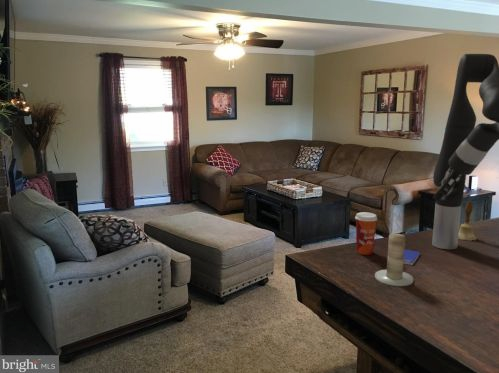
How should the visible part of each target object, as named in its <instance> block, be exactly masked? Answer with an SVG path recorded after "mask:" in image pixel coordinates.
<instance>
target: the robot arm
mask: <svg viewBox="0 0 499 373" xmlns="http://www.w3.org/2000/svg"><path fill="white" fill-rule="evenodd" d="M457 66H458V67H457V70H456V77H455V84H454V90H453V96H452V101H451V104H450V105H451V106H450V108H449V114H448V115H447V116H448V117H447V120H446V124H445V129H444V135H443V139H442V143H441V149H440V151H439V154H438V158H437V160H436V164H435V167H434V170H433V177H432V178H433V184H434V186H436V187H438V190H437V191H436V192H435V194H434V195H433V196H432V199H433V200H434V201H435V207H434V218H433V230H432V238H431V240H432V242H431V245H432V246H433V247H435V248H438V249H442V250H456V249H457V248H458V244H459V243H458V242H459V239H458V235H459V230H460V226H461V225H460V224H461V223H460V222H461V215H462V214H461V212H462V205H463V204H462V203H463V199H464V194H465V186H466V180H467V176H469V175H471V174H472V173H473V172H474V171H475V170H476V169H477V167H479V165H480V163H481V162H482V161H483V160H484V158H486V156H487V155H488V153H489V151H490V150H491V149H492V148H493V147H494V145H495V144H496V143H497V142H498V141H499V61H498V59H497V58H496V56H495V55H494V54H490V53H465V54H462V56H461V58H460V59H459V62H458V65H457ZM468 83H477V84H478V83H480V85H479V88H478V93H479V94H478V95H479V97H480V99H481V101H482V111H481V112H482V113H481V114H482V115H483V117H485V118H486V119H488V120H489V121H492V122H494V123H486V122H485V123H483V122H482V123H480V122H479V123H477V115H476V113H475V110H474V109H473V106H472V104H471V101H470V100H469V98H468V92H467V85H468ZM476 123H477V124H476Z"/></svg>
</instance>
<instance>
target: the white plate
mask: <svg viewBox="0 0 499 373" xmlns="http://www.w3.org/2000/svg"><path fill="white" fill-rule="evenodd" d="M386 273H387V269H381V270H377V271H376V272H375V273H374V278H375V280H377V281H378V282H379V283H381V284H383V285H387V286H391V287H408V286H411V285H412V284H413V283H414V277H413V276H412V275H411V274H409V273H407V272H405V271H403V275H402V279H400V280H393V279H389V278H388V277H387V276H386Z"/></svg>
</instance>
